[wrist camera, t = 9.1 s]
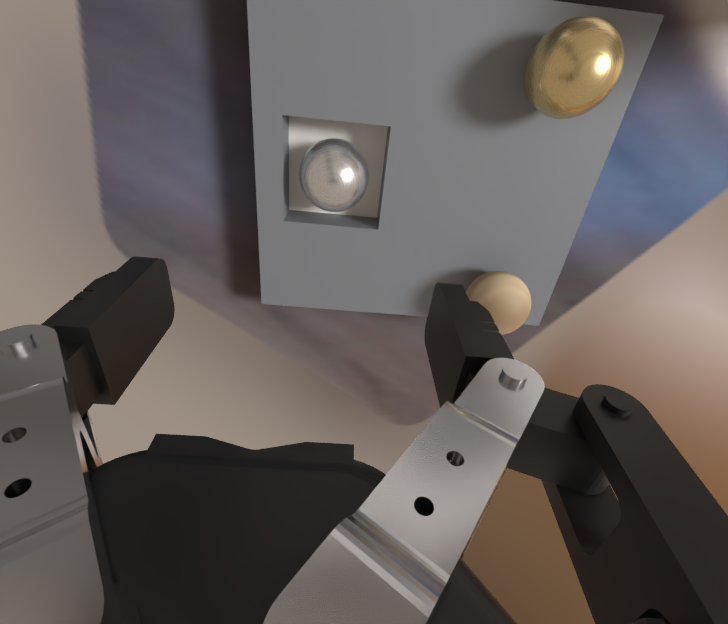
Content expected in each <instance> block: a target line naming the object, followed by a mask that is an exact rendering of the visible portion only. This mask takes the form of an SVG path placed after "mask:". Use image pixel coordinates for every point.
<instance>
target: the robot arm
mask: <svg viewBox="0 0 728 624" xmlns="http://www.w3.org/2000/svg"><path fill="white" fill-rule="evenodd" d="M173 318H174V302H173V296H172V291H171V286H170V281H169V275H168V270H167V266H166V263H165V262H164V260H163V259H158V258H146V257H132V258H130V259H129V260H128V261H127V262H126V263H125V264H124V265H122V266H121V267H120V268H119V269H118V270H117V271H115V272H111V273H109V274H107V275H104V276H102V277H100V278H98V279H96V280H94V281H93V282H92V283H91V284H90V285H88V286H87V287H86V288H85V289H84V290H83V292H80V293H79V294H77V295H76V296H75V297H74V299H73V300H70V301H69V302H68V303H67V304H65V305H64V306H63V307H62V308H61V309H60V310H58V311H57V312H56V313H55V314H53V315H52V316H51V317H50V318H49V319H47V320H46V321H45V322H44V323H43V324H41V325H24V326H18V327H14V328H10V329H6V330H3V331H1V332H0V624H517V623H516V622H515V621H514V619H513V618H512V617H511V616H510V615H509V613H508V612H507V611H506V610H505V609H504V608H503V607H502V605H501V604H500V603H499V602H498V601H497V599H496V598H495V597H494V596H493V595H492V594H491V592H490V591H489V590H488V589H487V588H486V586H485V585H484V584H483V583H482V582H481V581H480V579H479V578H478V577H477V576H476V575H475V574H474V572H473V571H472V570H471V569H470V568H469V567H468V565H467V564H466V563H465V562H464V561H463V559H462V558H463V556H464V554H465V552H466V550H467V548H468V546H469V544H470V542H471V540H472V537H473V536H474V534H475V532H476V529H477V527H478V525H479V523H480V521H481V519H482V517H483V515H484V513H485V511H486V509H487V507H488V505H489V503H490V501H491V499H492V497H493V495H494V493H495V491H496V489H497V487H498V485H499V483H500V481H501V479H502V477H503V475H504V473H505V471H506V469H507V468H509V469H512V470H515V471H518V472H521V473H524V474H527V475H530V476H533V477H536V478H539V479H541V480H542V482H543V485H544V488H545V491H546V493H547V496H548V498H549V501H550V504H551V507H552V509H553V512H554V514H555V517H556V520H557V523H558V525H559V528H560V530H561V533H562V536H563V539H564V541H565V544H566V547H567V549H568V552H569V554H570V557H571V560H572V563H573V565H574V568H575V570H576V573H577V576H578V579H579V581H580V584H581V587H582V589H583V592H584V595H585V597H586V600H587V603H588V606H589V608H590V611H591V614H592V616H593V619H594V621H595V624H728V516H727V514H726V513H725V512H724V510H723V509H722V508H721V507H720V505H719V504H718V502H717V501H716V500H715V498H714V497H713V496H712V494H711V493H710V492H709V491H708V489H707V488H706V487H705V485H704V484H703V483H702V481H701V480H700V479H699V477H698V476H697V475H696V474H695V472H694V471H693V469H692V468H691V467H690V465H689V464H688V463H687V461H686V460H685V459H684V458H683V456H682V455H681V454H680V452H679V451H678V450H677V448H676V447H675V446H674V444H673V443H672V442H671V440H670V439H669V438H668V436H667V435H666V434H665V432H664V431H663V430H662V428H661V427H660V426H659V424H658V423H657V422H656V420H655V419H654V418H653V416H652V415H651V414H650V413H649V411H648V410H647V409H646V408H645V406H644V405H643V404H642V403H640V402H639V401H638V400H637V399H635V398H634V397H632V396H631V395H629V394H627V393H625V392H624V391H621V390H619V389H616V388H614V387H610V386H606V385H598V384H596V385H590V386H588V387H586V388H585V389H584V390H583V392H582V394H581V396H580V398H577V397H574V396H570V395H567V394H563V393H560V392H557V391H553V390H550V389H547V388H545V387H544V382H543V380H542V378H541V377H540V375H539V374H538V373H537V372H536V371H535V370H533V369H532V368H531V367H529V366H528V365H526V364H524V363H522V362H519V361H517V360H514V358H513V356H512V354H511V352H510V350H509V348H508V346H507V345H506V343H505V341H504V339H503V337H502V335H501V333H499V329H498V327H497V325H496V324H495V322H494V320H493V318H492V316H491V314H490V312H489V311H488V310H487V309H486V308H485V307H483V306H482V305H481V304H480V303H479V302H478V301H470V300H469V298H468V296H467V294H466V291H465V289H464V287H463V285H462V284H452V283H440V282H437V283H436V285H435V287H434V291H433V295H432V300H431V304H430V308H429V313H428V317H427V322H426V327H425V346H426V350H427V354H428V358H429V362H430V367H431V371H432V375H433V379H434V383H435V388H436V392H437V396H438V400H439V404H440V409H439V410H438V411H437V413H436V414H435V415H434V417H433V418H432V419H431V420H430V421H429V423H428V424H427V425H426V426H425V428H424V429H423V430H422V431H421V432H420V434H419V435H418V436H417V437H416V439H415V440H414V441H413V442H412V444H411V445H410V446H409V447H408V448H407V450H406V451H405V452H404V453H403V455H402V456H401V457H400V458H399V460H398V461H397V462H396V463H395V465H394V466H393V467H392V468H391V470H390V471H389V472H388V473H387V474H386V475H385V474H384V473H383V472H381V471H379V470H378V469H376V468H374V467H372V466H370V465H367V464H365V463H363V462H359V461H356V460H354V459H353V458H354V445H350V444H332V443H315V442H304V443H297V444H291V445H285V446H279V447H273V448H267V449H260V450H251V449H247V448H243V447H240V446H236V445H233V444H229V443H226V442H223V441H219V440H216V439H213V438H209V437H204V436H186V435H167V434H156V435H155V437H154V439H153V441H152V443H151V445H150V446H149V448H148V450H144V451H139V452H136V453H132V454H128V455H125V456H122V457H119V458H116V459H114V460H111V461H109V462H107V463H104V464H103V463H102V459H101V455H100V451H99V447H98V444H97V440H96V436H95V433H94V429H93V425H92V421H91V418H90V415H89V413H88V410H89V408H90V407H91V406H92V404H94V403H95V404H111V405H115V404H116V402H117V401H118V399H119V398H120V396H121V395H122V394H123V392H124V391H125V389H126V388H127V387H128V385H129V384H130V382H131V381H132V379H133V378H134V377H135V375H136V374H137V372H138V371H139V370H140V368H141V367H142V365H143V364H144V363H145V361H146V360H147V358H148V357H149V355H150V354H151V352H152V351H153V350H154V348H155V347H156V345H157V344H158V343H159V341H160V340H161V338H162V337H163V336H164V334H165V333H166V331H167V330H168V329H169V327H170V326H171V324H172V321H173ZM609 484H611V486H612V488H613V490H614V492H615V494H616V496H617V498H618V500H617V498H616V496H615V494H614V492H613V490H612V488H611V487H610V485H609ZM618 501H619V502H618Z"/></svg>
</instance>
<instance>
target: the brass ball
mask: <svg viewBox="0 0 728 624" xmlns="http://www.w3.org/2000/svg"><path fill="white" fill-rule="evenodd" d="M623 64H624V45H623V42H622V38H621V36H620V34H619V32H618V31H617V30H616V28H615V27H614V26H613V25H612V24H611V23H609V22H608V21H606V20H604V19H602V18H599V17H595V16H579V17H574V18H571V19H568V20H566V21H564V22H562V23H560V24H558V25H556V26H555V27H554V28H552V29H551V30H550V31H549V32H548V33H547V34H545V35H544V36H543V38H542V39H541V40H540V41H539V42H538V44H537V45H536V47H535V48H534V50H533V52H532V54H531V56H530V58H529V61H528V64H527V67H526V72H525V88H526V93H527V96H528V98H529V100H530V102H531V104H532V105H533V106H534V107H535V109H536V110H538V111H539V112H540V113H542V114H543V115H545V116H548V117H550V118H555V119H570V118H574V117H578V116H581V115H583V114H585V113H587V112H589V111H591V110H593V109H594V108H596V107H597V106H598V105H599V104H601V103H602V102H603V101H604V100H605V99H606V98H607V96H608V95H609V94H610V93H611V92H612V90H613V89H614V87H615V85H616V84H617V82H618V80H619V78H620V75H621V72H622V69H623Z"/></svg>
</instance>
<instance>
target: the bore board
mask: <svg viewBox="0 0 728 624" xmlns="http://www.w3.org/2000/svg"><path fill="white" fill-rule="evenodd" d="M247 15H248V35H249V56H250V76H251V97H252V118H253V138H254V159H255V179H256V200H257V220H258V241H259V262H260V282H261V303H262V304H269V305H282V306H295V307H308V308H320V309H333V310H346V311H359V312H372V313H384V314H397V315H410V316H423V317H428V313H429V308H430V304H431V300H432V295H433V291H434V287H435V285H436V283H437V282H440V283H452V284H462V285H463V287H464V289H465V291H467V289H468V287H469V285H470V284H471V283H472V282H473V281H474V280H475V279H476V278H477V277H479V276H480V275H482V274H485V273H487V272H492V271H504V272H508V273H511V274H513V275H515V276H517V277H518V278H520V279H521V280H522V281H523V282H524V283H525V285H526V286H527V288H528V290H529V292H530V295H531V310H530V313H529V316H528V318H527V319H526V321H525V322H524V323H523V324H525V325H538V326H539V324H540V321H541V319H542V316H543V314H544V312H545V309H546V307H547V304H548V302H549V299H550V297H551V294H552V292H553V289H554V287H555V284H556V282H557V279H558V277H559V274H560V272H561V270H562V267H563V265H564V262H565V260H566V257H567V255H568V252H569V250H570V247H571V245H572V242H573V240H574V237H575V235H576V233H577V230H578V228H579V225H580V223H581V220H582V218H583V215H584V213H585V210H586V208H587V205H588V203H589V200H590V198H591V195H592V193H593V191H594V188H595V186H596V183H597V181H598V178H599V176H600V173H601V171H602V168H603V166H604V163H605V161H606V158H607V156H608V154H609V151H610V149H611V146H612V144H613V141H614V139H615V136H616V134H617V131H618V129H619V126H620V124H621V121H622V119H623V116H624V114H625V112H626V109H627V107H628V104H629V102H630V99H631V97H632V94H633V92H634V89H635V87H636V84H637V82H638V79H639V77H640V75H641V72H642V70H643V67H644V65H645V62H646V60H647V57H648V55H649V52H650V50H651V47H652V45H653V42H654V40H655V37H656V35H657V33H658V30H659V28H660V25H661V23H662V20H663V18H664V15H662V14H654V13H646V12H639V11H631V10H623V9H615V8H608V7H600V6H592V5H585V4H577V3H569V2H561V1H554V0H247ZM579 16H595V17H599V18H602V19H604V20H606V21H608V22H609V23H611V24H612V25H613V26H614V27H615V28H616V30H617V31H618V32H619V34H620V36H621V38H622V42H623V45H624V64H623V69H622V72H621V75H620V78H619V80H618V82H617V84H616V85H615V87H614V89H613V90H612V92H611V93H610V94H609V95H608V96H607V98H606V99H605V100H604V101H603V102H602V103H601V104H599V105H598V106H597V107H596V108H594V109H593V110H591V111H589V112H587V113H585V114H583V115H581V116H578V117H574V118H570V119H555V118H550V117H548V116H545V115H543V114H542V113H540V112H539V111H538V110H536V109H535V107H534V106H533V105H532V104H531V102H530V100H529V98H528V96H527V93H526V88H525V72H526V67H527V64H528V61H529V58H530V56H531V54H532V52H533V50H534V48H535V47H536V45H537V44H538V42H539V41H540V40H541V39H542V38H543V36H544V35H545V34H547V33H548V32H549V31H550V30H551V29H552V28H554V27H555V26H556V25H558V24H560V23H562V22H564V21H566V20H568V19H571V18H574V17H579ZM328 138H338V139H342V140H345V141H348V142H350V143H351V144H353V145H354V146H355V147H357V148H358V149H359V151H360V152H361V153H362V155H363V156H364V158H365V160H366V163H367V165H368V170H369V182H368V186H367V190H366V192H365V194H364V196H363V197H362V199H361V200H360V201H359V202H358V203H357V204H356V205H355V206H353V207H352V208H350V209H348V210H345V211H341V212H329V211H325V210H322V209H320V208H318V207H316V206H315V205H314V204H312V203H311V202H310V201H309V200H308V199H307V197H306V196H305V194H304V193H303V190H302V188H301V185H300V180H299V168H300V164H301V161H302V158H303V156H304V154H305V153H306V151H307V150H308V149H309V148H310V147H311V146H313V145H314V144H315V143H317V142H319V141H321V140H324V139H328Z"/></svg>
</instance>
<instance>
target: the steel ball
mask: <svg viewBox="0 0 728 624" xmlns="http://www.w3.org/2000/svg"><path fill="white" fill-rule="evenodd" d="M299 180H300V185H301V188H302V190H303V193H304V194H305V196H306V197H307V199H308V200H309V201H310V202H311V203H312V204H314V205H315V206H316V207H318V208H320V209H322V210H325V211H329V212H341V211H345V210H348V209H350V208H352V207H353V206H355V205H356V204H357V203H358V202H359V201H360V200H361V199H362V197H363V196H364V194H365V192H366V190H367V186H368V182H369V170H368V165H367V163H366V160H365V158H364V156H363V155H362V153H361V152H360V151H359V149H358V148H357V147H355V146H354V145H353V144H351V143H350V142H348V141H345V140H342V139H338V138H328V139H324V140H321V141H319V142H317V143H315V144H314V145H313V146H311V147H310V148H309V149H308V150H307V151H306V153H305V154H304V156H303V158H302V161H301V164H300V168H299Z"/></svg>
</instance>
